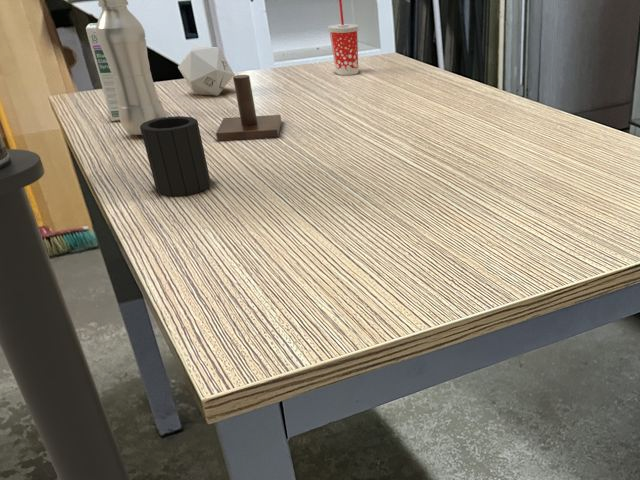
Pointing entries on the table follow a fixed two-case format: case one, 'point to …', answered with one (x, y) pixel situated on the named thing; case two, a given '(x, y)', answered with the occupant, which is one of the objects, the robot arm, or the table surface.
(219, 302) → the table surface
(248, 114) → the peg stand
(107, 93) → the syrup box
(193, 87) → the die
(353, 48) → the beverage cup
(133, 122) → the plastic bottle
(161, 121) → the black hollow cylinder
